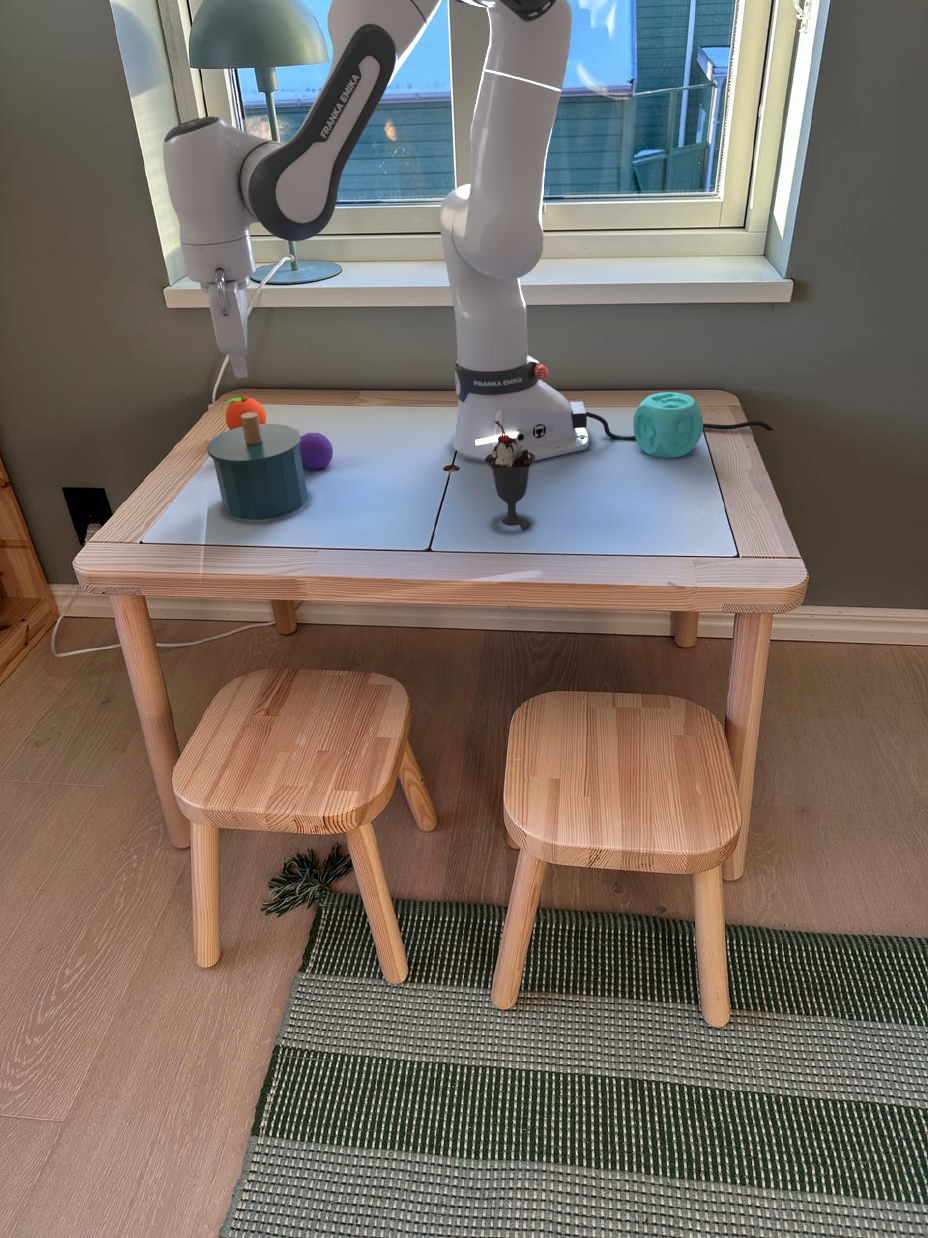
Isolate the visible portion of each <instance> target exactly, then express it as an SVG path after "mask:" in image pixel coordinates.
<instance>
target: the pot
mask: <svg viewBox="0 0 928 1238" xmlns="http://www.w3.org/2000/svg"><path fill="white" fill-rule="evenodd" d="M212 459H213V458H212ZM213 464H214V469H215V474H216V478H217V482H218V486H219V493H220V496H221V501H222V505H223V510H224V511H225V512H226V513H227V514H228V515H229V516H231V517H233V518H237V519H241V520H248V521H249V520H251V521H261V520H262V521H263V520H269V519H275V518H279V517H283V516H286V515H288V514H291V513H294V511H296V510H298V509H299V508H301V507H303V506H304V504H305V503H306V502H307V500H308V489H307V484H306V478H305V471H304V467H303V465H302V459H301V452H300V446H298V447H297V448H296V449H295V450H294V451H293V452H291V453H289V454H287V455H285V456H283V457H280V458H277V459H274V460H271V461H267V462H262V463H255V464H227V463H222V462H219V461H216V460H214V459H213Z"/></svg>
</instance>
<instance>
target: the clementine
mask: <svg viewBox="0 0 928 1238" xmlns="http://www.w3.org/2000/svg"><path fill="white" fill-rule="evenodd" d="M230 402H231V403H230ZM227 403H230V404H229V405H228V407H227V409H226V411H225V423H226V425H227V428H228V429H229V430H232V429H235V428H239V427H243V426H242V421H241V415H242V414H245V413H249V412H254V413H257V414H258V419H259V424H267V414H266V411H265V409H264V407H263V405H262V404H261V403H260V402H259V401H258V400H256V399H253V397H252V398H251V397H248V396H244V397H242V396H241V397H236V398H235V397H234V398H231V399H229V400H226V402H224V403H223V404H222V405H221V408H220V410H222V409H223V407H224V406H225V405H226V404H227Z"/></svg>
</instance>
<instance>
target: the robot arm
mask: <svg viewBox="0 0 928 1238" xmlns="http://www.w3.org/2000/svg"><path fill="white" fill-rule="evenodd" d="M454 1H455V2H457V3H459V4H460V3H461V4H466V5H474V6H477V7H483V8H486V11H487V13H488V19H489V29H490V32H489V34H490V35H489V44H488V48H487V53H486V56H485V61H484V65H483V71H482V74H481V78H480V83H479V88H478V93H477V98H476V103H475V107H474V112H473V118H472V121H471V127H470V132H469V139H470V146H471V149H470V150H471V162H470V182H469V183H468V184H464V185H461V186H458V187H456V188H454V189H453V190H452V191H450V192H449V193H448V194H447V195H446V196H445V197H444V199H443V201H441V204H440V207H439V210H438V215H437V216H438V218H437V221H438V228H439V231H440V235H441V240H442V245H443V246H442V247H443V253H444V260H445V265H446V272H447V277H448V283H449V288H450V293H451V298H452V303H453V310H454V320H455V335H456V336H455V337H456V353H457V355H456V356H457V360H456V361H455V363H454V364H455V366H454V367H455V368H454V369H455V371H454V382H455V383H454V384H455V393H456V396H457V399H458V400H457V401H458V403H457V417H456V426H455V432H454V436H453V440H452V447H453V449H454V450H455V451H457V452H458V453H459V454H461V455H464V456H466V457H469V458H473V459H479V460H484V461H485V459H486V456H488V455H489V454H492V451H493V449H494V446H496V445H497V444H498V437H499V436H501V435H502V429H501V427H500V426H498V425H497V424H496V423H495V421H499V424H500V425H501V426H502V427H503V429H504V431H505V434H506V435H508V436H509V437H510V438H513V439H516V440H517V441H518V442H520V443H521V445H522V448H523V449H524V450H526V449H527V450H528V452H530V453H533V454H534V455H535V460H534V462H535V461H540V460H545V459H549V458H553V457H558V456H563V455H566V454H567V455H568V454H572V453H575V452H580V451H585V450H587V448H588V447H589V444H590V439H589V433H588V431H587V429H586V428H587V423H588V422H587V421H588V418H591V419H594V420H596V421H598V422H600V423H601V424H602V426H603V429H604V432H605V434H606V436H607V437H609V438H610V439H612V440H616V441H617V440H620V441H637V440H636V438H635V435H630V436H621V435H617V434H614V433H613V432H611V430H610V426H609V424H608V421H607V420H606V419H605V418H604V417H603V416H600V415H598V414H596V413H592V412H589V411H587V410H586V407H585V404H584V401H582V400H581V401H580V400H579V401H569V400H568V399H567V398H566V397H565V396H564V395H563V394H562V393H561V392H560V391H558V390H556V389H555V388H553V387H552V386H550V385H549V384H548V383H546V382H544V381H543V380H546V379H547V377H549V373H550V372H549V369H548V368H547V367H546V366H545V364H542V363H540V362H539V361H538V359H536V358H533V357H532V356H531V354H528V309H527V304H526V302H525V299H524V296H523V292H522V288H521V284H520V278H522V277H524V276H526V275H528V274H529V273H530V272H531V271H532V270H534V269H535V268H536V266H537V264H538V263H539V261H540V260H541V257H542V255H543V251H544V248H545V247H544V246H545V234H544V229H543V223H542V214H543V213H542V212H543V211H542V210H543V199H544V198H543V197H544V186H545V185H544V184H545V171H546V162H547V155H548V149H549V145H550V141H551V136H552V131H553V127H554V124H555V119H556V114H557V112H558V107H559V102H560V98H561V94H562V90H563V86H564V81H565V78H566V77H565V76H566V71H567V66H568V60H569V54H570V48H571V47H570V46H571V37H572V25H573V13H572V7H571V6H570V3H569V1H568V0H454ZM443 2H444V0H331V4H330V7H329V9H328V12H327V30H328V35H329V39H330V42H331V45H332V61H331V67H330V70H329V72H328V74H327V77H326V79H325V81H324V83H323V85H322V87H321V88H320V90H319V92H318V94H317V96H316V98H315V99H314V102H313V104H312V105H311V108H310V109H309V111H308V112H307V114H306V116H305V117H304V120H303V122H302V123H301V125H300V126H299V129H298V130H297V132H296V133H295V135H294V136H293V137H292V138H291V139H290V140H288V141H287V142H285V143H283V142H280V141H277V140H272V139H268V138H263V137H260V136H257V135H254V134H251V133H248V132H246V131H243V130H241V129H240V128H237V127H234V126H233V125H231V124H229V123H228V122H226V121H224V120H223V119H222V118H221V117H220V116H219V117H218V116H211V115H210V116H203V117H199V118H195V119H191V120H188V121H185V122H183V123H180V124H178V125H176V126H174V127H172V128H171V129H170V130H169V131H168V132H167V134H166V136H165V137H164V140H163V144H162V156H163V166H164V172H165V178H166V179H165V180H166V184H167V190H168V194H169V199H170V203H171V206H172V209H173V211H174V212H175V214H176V216H177V219H178V224H179V242H180V246H181V251H182V255H183V256H182V257H183V259H184V264H185V268H186V269H185V270H186V272H187V273H186V274H187V278H188V280H189V281H191V282H195V283H199V285H200V290H201V292H203V293H204V294H207V296H208V306H209V310H210V315H211V320H212V321H211V322H212V326H213V331H214V335H215V341H216V344H217V348H218V351H219V352H220V353H221V354H227V357H228V359H229V362H230V365H231V367H232V372H233V376H234V378H236V379H243V378H244V379H245V378H247V377H248V375H249V372H248V366H247V361H246V356H247V355H248V352H249V349H248V292H247V288H248V287H249V285H250V278H249V276H252V275H253V274H255V273H256V272H257V264H256V260H255V255H254V249H253V248H254V247H253V243H252V238H251V233H250V226H251V225H252V224H257V223H260V224H261V226H262V227H264V229H265V230H266V231H268V233H270V234H271V235H273V236H274V237H276V238H279V239H281V240H284V241H290V242H301V241H305V240H309V239H312V238H313V237H315V236H317V235H318V234H320V233H321V232H322V231H323V230H324V229H325V228H326V227H327V225H328V224H329V222H330V221H331V220H332V217H333V214H334V212H335V208H336V205H337V200H338V193H339V187H340V182H341V178H342V174H343V172H344V169H345V167H346V165H347V162H348V160H349V159H350V157H351V155H352V153H353V151H354V149H355V148H356V146H357V145H358V142H359V140H360V138H361V137H362V135H363V134H364V131H365V130H366V127H367V126H368V124H369V122H370V120H371V118H372V117H373V115H374V113H375V111H376V109H377V107H378V105H379V103H380V102H381V100H382V98H383V96H384V94H385V92H386V90H387V89H388V86H389V85H390V83H392V81H393V79H394V77H395V75H396V73H397V72H398V71H399V69H400V68H401V66H402V65H403V63H404V62H405V61H406V59H407V58H408V56H409V55H410V54H411V52H412V50H413V49H414V47H415V46H416V44H417V43H418V41H419V40H420V39H421V37H422V35H423V33H424V32H425V30H426V29H427V27H428V25H429V23H430V22H431V21H432V19H433V17H434V15H435V14H436V11H437V10H438V8H439V6H440V5H441V4H442V3H443ZM753 426H758V427H761V428H763V429H765V430H766V431H767V432H769V431H774V429H773V428H772V426H771V425H769V424H768V423H766V422H764V421H760V420H750V421H745V422H740V423H735V424H734V423H733V424H715V423H704V422H703V429H713V430H736V429H741V428H746V427H753ZM503 436H504V432H503Z"/></svg>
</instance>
